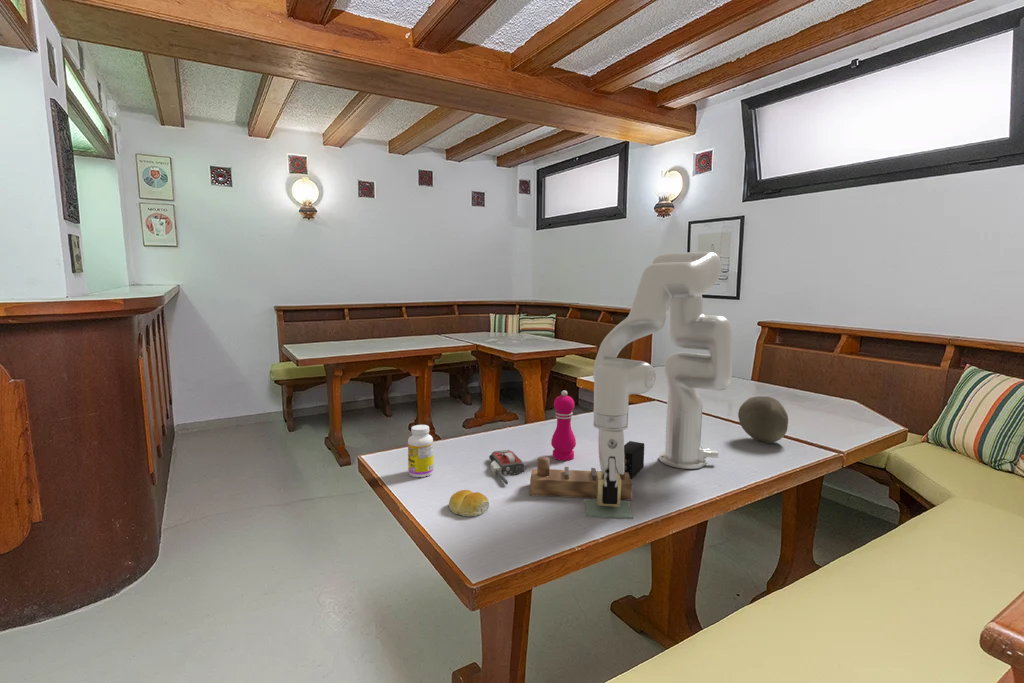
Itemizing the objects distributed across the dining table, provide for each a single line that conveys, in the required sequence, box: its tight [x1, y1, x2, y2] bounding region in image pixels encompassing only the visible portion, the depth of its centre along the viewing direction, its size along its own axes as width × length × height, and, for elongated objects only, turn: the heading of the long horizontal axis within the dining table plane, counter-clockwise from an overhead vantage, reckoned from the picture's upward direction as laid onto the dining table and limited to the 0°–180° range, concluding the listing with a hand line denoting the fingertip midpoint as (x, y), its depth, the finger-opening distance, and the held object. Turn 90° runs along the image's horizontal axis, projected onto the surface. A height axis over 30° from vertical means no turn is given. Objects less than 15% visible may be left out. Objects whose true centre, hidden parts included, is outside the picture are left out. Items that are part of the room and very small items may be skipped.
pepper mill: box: [550, 390, 577, 461], centre depth 143 cm, size 7×7×20 cm
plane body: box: [529, 454, 633, 501], centre depth 120 cm, size 24×7×10 cm, turn 84°
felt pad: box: [584, 498, 634, 520], centre depth 111 cm, size 10×8×1 cm
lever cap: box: [595, 472, 621, 507], centre depth 110 cm, size 5×4×7 cm
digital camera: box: [624, 440, 645, 480], centre depth 133 cm, size 10×5×7 cm, turn 148°
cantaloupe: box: [737, 395, 789, 444], centre depth 158 cm, size 14×14×15 cm
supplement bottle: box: [407, 424, 434, 478], centre depth 131 cm, size 7×7×13 cm
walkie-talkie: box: [488, 449, 525, 485], centre depth 133 cm, size 9×4×20 cm
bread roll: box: [448, 489, 490, 517], centre depth 111 cm, size 8×9×4 cm
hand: (608, 497), depth 111 cm, fingers closed on lever cap, 4 cm apart
